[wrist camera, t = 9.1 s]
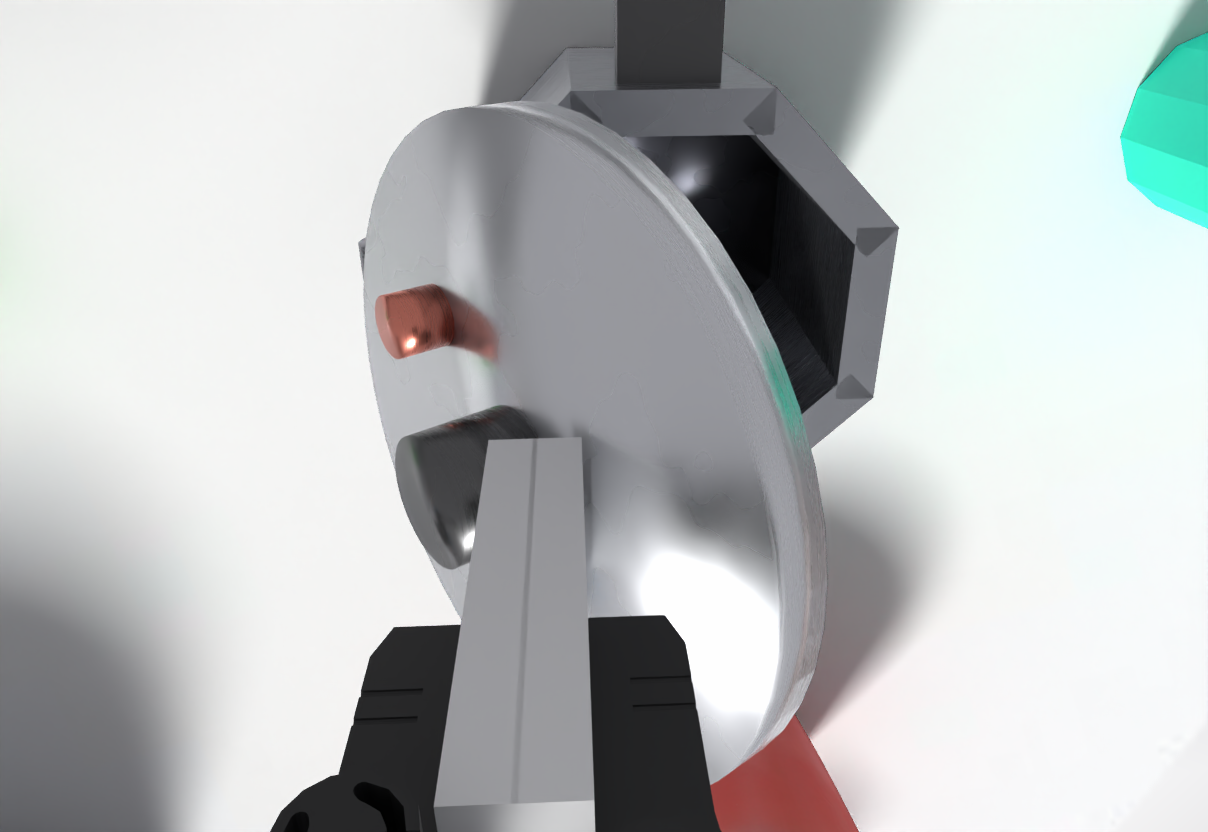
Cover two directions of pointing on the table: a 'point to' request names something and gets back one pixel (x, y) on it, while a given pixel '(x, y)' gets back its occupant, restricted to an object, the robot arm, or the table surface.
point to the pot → (749, 189)
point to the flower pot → (781, 790)
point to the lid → (600, 392)
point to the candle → (1172, 133)
